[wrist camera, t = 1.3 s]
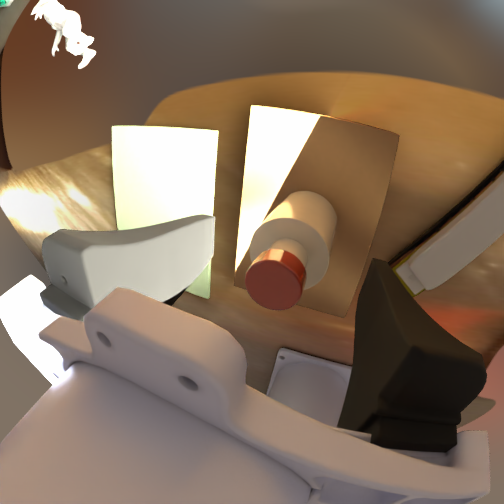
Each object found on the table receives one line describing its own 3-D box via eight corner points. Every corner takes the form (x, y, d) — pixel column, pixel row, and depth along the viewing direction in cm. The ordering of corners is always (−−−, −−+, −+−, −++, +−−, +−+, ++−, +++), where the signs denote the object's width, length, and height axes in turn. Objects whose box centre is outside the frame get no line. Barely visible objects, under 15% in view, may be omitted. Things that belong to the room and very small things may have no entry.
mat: (210, 296, 25) (208, 299, 24) (125, 265, 27) (122, 267, 27) (218, 130, 18) (216, 131, 17) (114, 125, 20) (111, 126, 20)
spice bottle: (329, 256, 16) (308, 335, 11) (271, 241, 17) (224, 309, 12) (343, 199, 15) (332, 258, 9) (280, 184, 15) (229, 230, 10)
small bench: (347, 297, 20) (344, 318, 18) (246, 268, 22) (233, 286, 20) (393, 132, 14) (399, 135, 12) (264, 106, 16) (250, 105, 14)
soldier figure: (85, 84, 20) (23, 44, 16) (118, 52, 21) (54, 16, 17) (72, 43, 13) (4, 8, 9) (117, 6, 14) (43, -24, 9)
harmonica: (528, 129, 10) (543, 132, 8) (546, 166, 10) (561, 173, 8) (385, 260, 18) (387, 275, 16) (409, 289, 18) (412, 306, 16)
